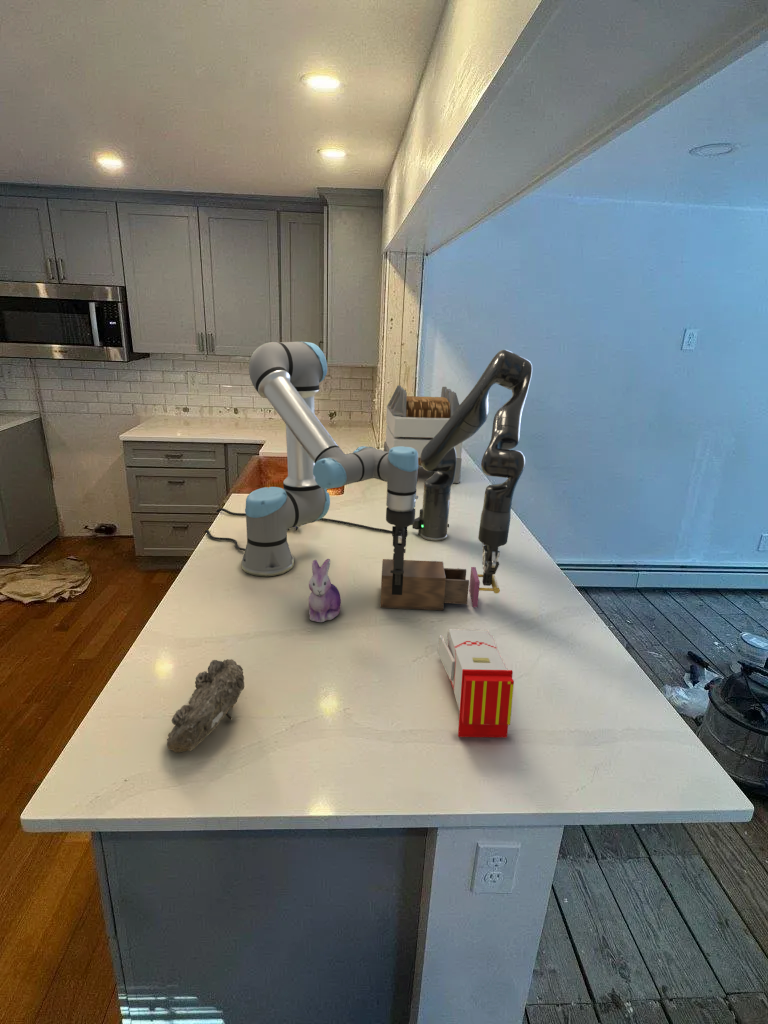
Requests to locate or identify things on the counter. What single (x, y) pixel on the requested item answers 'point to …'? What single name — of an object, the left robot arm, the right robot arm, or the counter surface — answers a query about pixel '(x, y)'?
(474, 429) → the right robot arm
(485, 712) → the toy
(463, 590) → the drawer
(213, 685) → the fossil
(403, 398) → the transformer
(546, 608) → the counter surface
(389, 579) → the cabinet
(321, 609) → the figurine
